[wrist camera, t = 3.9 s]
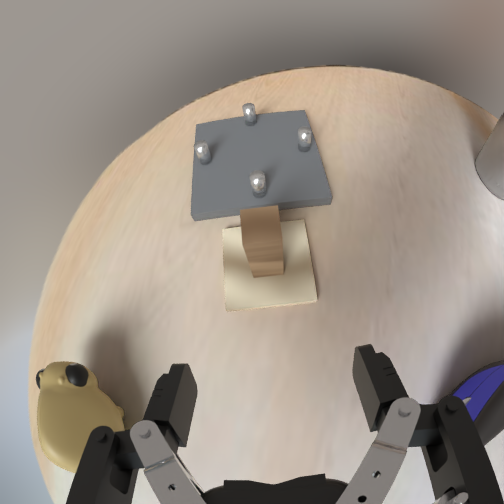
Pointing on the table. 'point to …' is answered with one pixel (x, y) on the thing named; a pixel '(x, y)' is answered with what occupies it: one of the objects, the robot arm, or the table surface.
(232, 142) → the base board
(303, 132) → the standoff pins
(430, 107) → the table surface
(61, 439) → the yellow toy animal
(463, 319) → the table surface
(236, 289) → the handled board
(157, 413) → the robot arm
